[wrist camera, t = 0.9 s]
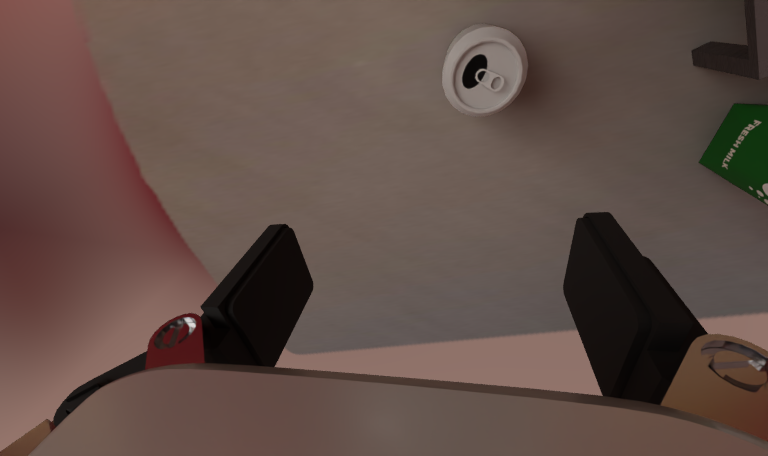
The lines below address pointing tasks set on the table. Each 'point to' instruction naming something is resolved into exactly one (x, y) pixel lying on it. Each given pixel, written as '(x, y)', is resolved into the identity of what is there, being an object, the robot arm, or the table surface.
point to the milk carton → (742, 150)
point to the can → (484, 70)
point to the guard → (740, 47)
